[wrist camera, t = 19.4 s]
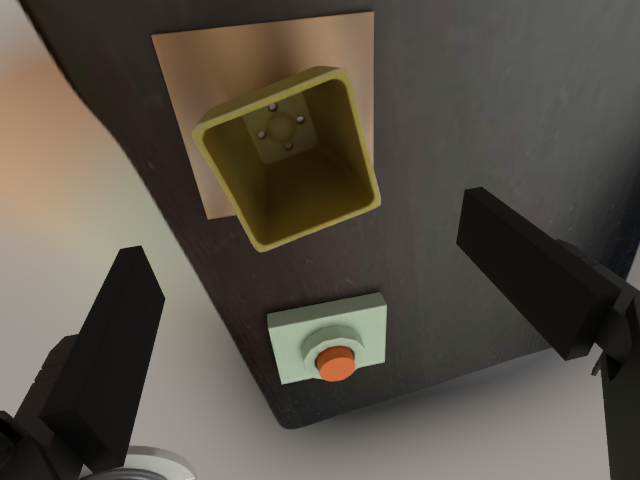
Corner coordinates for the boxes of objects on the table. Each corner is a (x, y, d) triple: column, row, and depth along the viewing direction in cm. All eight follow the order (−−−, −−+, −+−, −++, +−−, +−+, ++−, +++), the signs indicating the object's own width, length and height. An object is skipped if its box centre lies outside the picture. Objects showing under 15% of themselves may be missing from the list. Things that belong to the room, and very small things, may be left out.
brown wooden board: (208, 217, 31) (207, 219, 31) (152, 34, 23) (150, 35, 23) (372, 190, 33) (373, 192, 32) (372, 11, 25) (374, 11, 24)
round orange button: (318, 371, 40) (320, 384, 39) (314, 348, 38) (317, 362, 37) (352, 364, 41) (356, 377, 39) (350, 341, 39) (355, 354, 37)
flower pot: (348, 157, 30) (384, 207, 23) (253, 194, 30) (257, 256, 23) (316, 46, 25) (348, 64, 18) (201, 92, 25) (186, 128, 18)
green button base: (280, 369, 44) (283, 398, 41) (266, 313, 39) (269, 342, 36) (379, 348, 46) (389, 374, 43) (380, 291, 40) (392, 317, 37)
